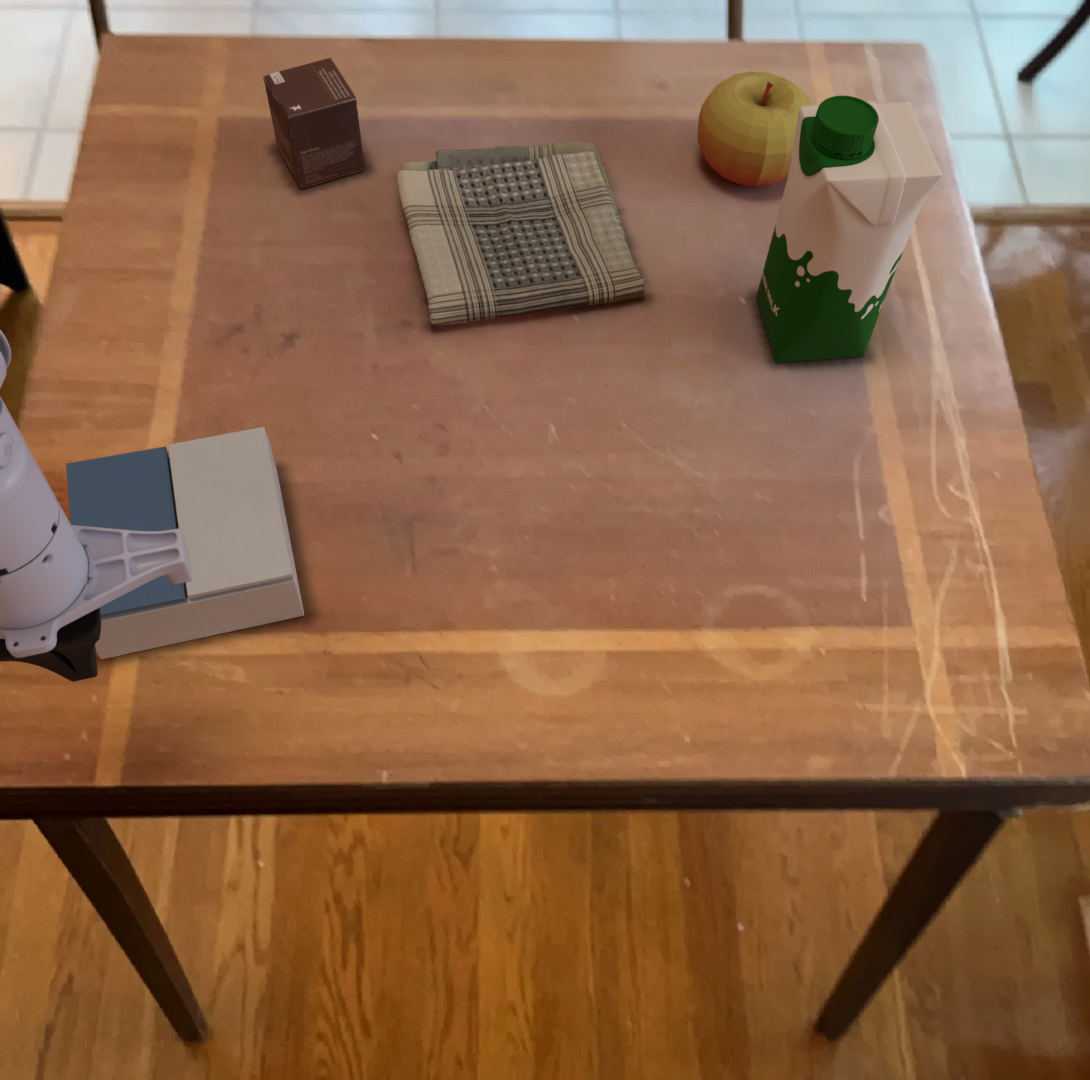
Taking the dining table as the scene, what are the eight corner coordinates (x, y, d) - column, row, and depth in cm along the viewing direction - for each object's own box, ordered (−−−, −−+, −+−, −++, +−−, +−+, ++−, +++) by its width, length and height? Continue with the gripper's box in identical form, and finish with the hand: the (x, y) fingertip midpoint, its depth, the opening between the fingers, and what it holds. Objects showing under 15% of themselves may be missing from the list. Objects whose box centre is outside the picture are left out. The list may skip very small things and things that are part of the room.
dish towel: (650, 304, 93) (655, 274, 91) (427, 335, 91) (425, 305, 88) (594, 151, 103) (597, 120, 100) (391, 175, 100) (388, 144, 98)
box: (366, 172, 100) (358, 99, 94) (299, 191, 99) (286, 118, 93) (341, 129, 103) (331, 55, 97) (275, 147, 102) (261, 73, 95)
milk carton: (742, 290, 94) (796, 73, 78) (850, 283, 95) (927, 67, 79) (766, 373, 90) (829, 161, 73) (880, 365, 91) (968, 154, 74)
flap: (79, 622, 71) (77, 618, 70) (67, 466, 77) (65, 463, 76) (186, 600, 72) (185, 597, 72) (167, 449, 78) (165, 446, 78)
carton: (100, 659, 75) (76, 619, 70) (88, 508, 81) (64, 462, 76) (304, 616, 77) (293, 574, 73) (277, 472, 83) (265, 425, 79)
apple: (802, 134, 105) (823, 55, 98) (806, 209, 100) (828, 131, 93) (693, 124, 105) (707, 45, 99) (691, 198, 100) (705, 120, 93)
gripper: (-189, 638, 48) (-59, 763, 60) (169, 565, 51) (228, 698, 62) (-180, 501, 52) (-59, 643, 63) (154, 439, 55) (212, 587, 66)
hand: (83, 663), depth 63 cm, fingers closed
